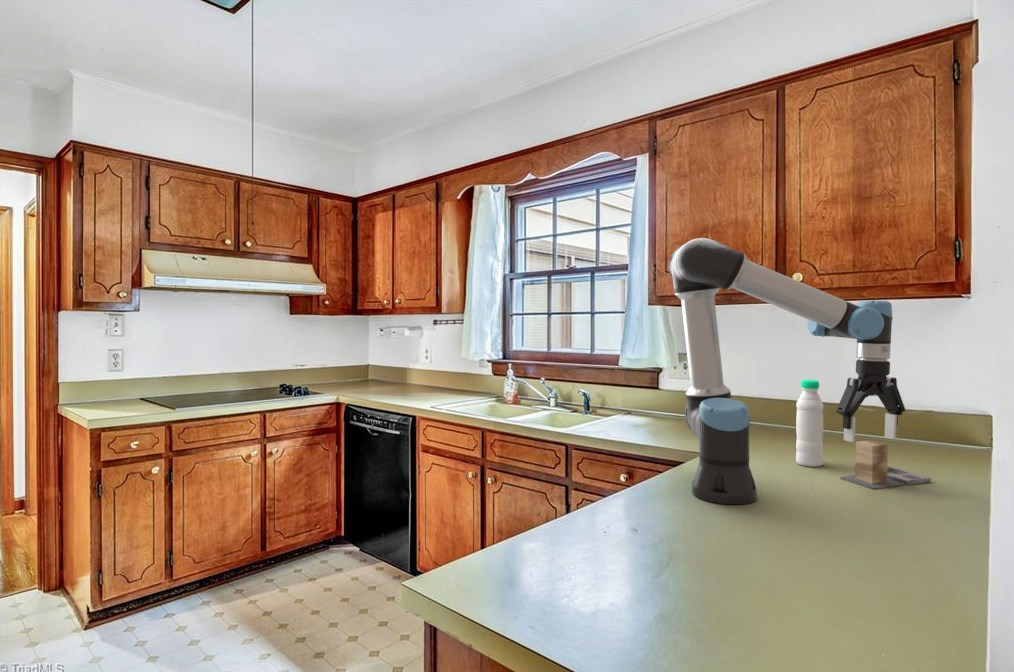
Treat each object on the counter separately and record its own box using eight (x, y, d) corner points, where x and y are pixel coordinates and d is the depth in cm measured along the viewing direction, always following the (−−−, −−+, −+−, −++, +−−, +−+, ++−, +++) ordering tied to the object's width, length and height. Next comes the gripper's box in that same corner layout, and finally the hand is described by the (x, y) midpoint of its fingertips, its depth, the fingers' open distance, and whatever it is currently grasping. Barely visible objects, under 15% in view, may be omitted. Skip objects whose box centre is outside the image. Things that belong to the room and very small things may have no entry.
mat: (873, 489, 144) (873, 487, 144) (840, 478, 154) (840, 476, 154) (903, 485, 147) (903, 484, 147) (869, 474, 156) (869, 473, 156)
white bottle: (795, 465, 166) (796, 381, 165) (796, 460, 173) (796, 378, 171) (823, 468, 163) (824, 382, 162) (822, 462, 169) (823, 379, 168)
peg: (872, 484, 147) (872, 445, 146) (855, 478, 152) (855, 441, 151) (887, 482, 148) (887, 444, 148) (870, 476, 153) (870, 440, 153)
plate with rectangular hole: (906, 485, 147) (906, 480, 147) (854, 468, 162) (854, 464, 162) (930, 482, 149) (930, 477, 149) (876, 466, 164) (876, 462, 164)
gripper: (846, 361, 142) (843, 445, 143) (923, 360, 148) (920, 440, 149) (822, 359, 149) (819, 439, 150) (896, 357, 155) (893, 434, 157)
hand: (869, 439), depth 150 cm, fingers open, 13 cm apart
